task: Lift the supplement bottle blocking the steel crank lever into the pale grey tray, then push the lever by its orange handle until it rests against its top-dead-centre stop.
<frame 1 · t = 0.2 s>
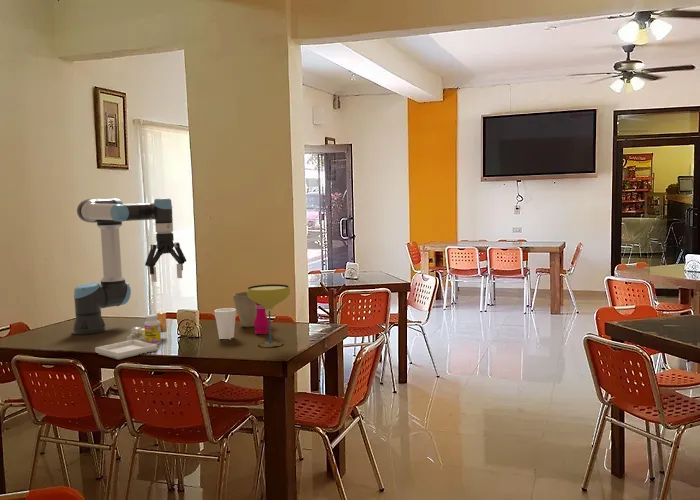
hand: (167, 279, 296), 27 cm above the table, fingers open, 13 cm apart
crank lever: (148, 324, 298), point 7 cm above the table, hinge at 80.0°
plant pot: (249, 325, 326), on the table
cocktail glass: (270, 345, 282), on the table
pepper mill: (261, 334, 306), on the table
foam cup: (226, 338, 298), on the table
tray: (126, 351, 276), on the table
supplement bottle: (153, 344, 290), on the table
crank base: (137, 342, 294), on the table
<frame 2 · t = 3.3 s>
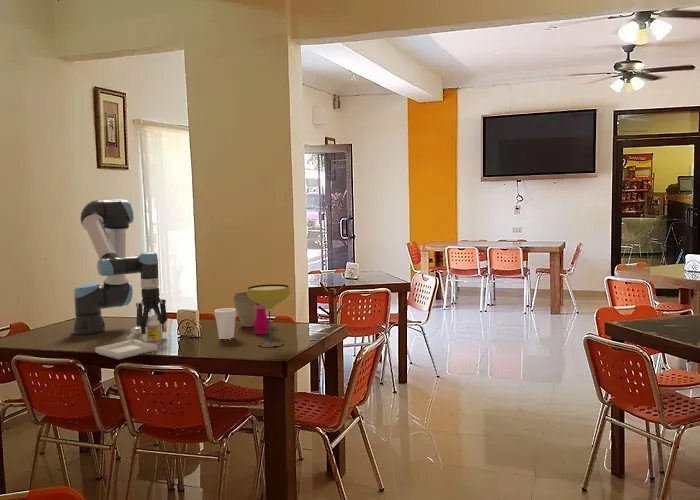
hand: (153, 339, 290), 2 cm above the table, fingers closed on supplement bottle, 7 cm apart
supplement bottle: (153, 344, 290), on the table, touching gripper
everything else where it was.
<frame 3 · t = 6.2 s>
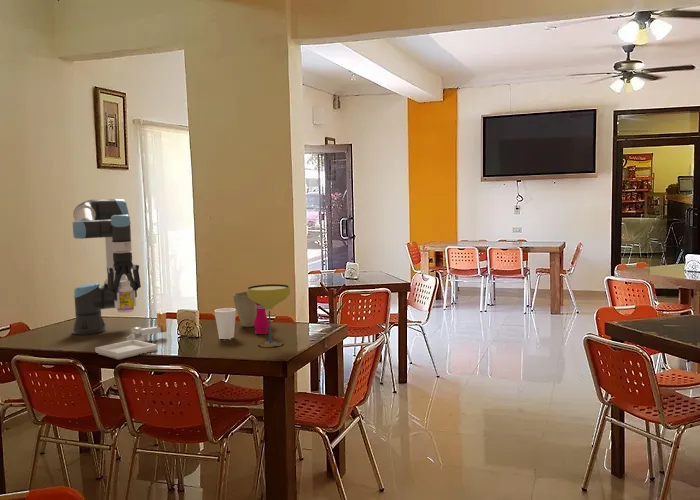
hand: (125, 306, 275), 19 cm above the table, fingers closed on supplement bottle, 7 cm apart
supplement bottle: (125, 311, 275), point 17 cm above the table, touching gripper
everything else where it was.
when the fingers open (5 cm above the table, at t = 9.3 s): supplement bottle drops 2 cm, resting on tray.
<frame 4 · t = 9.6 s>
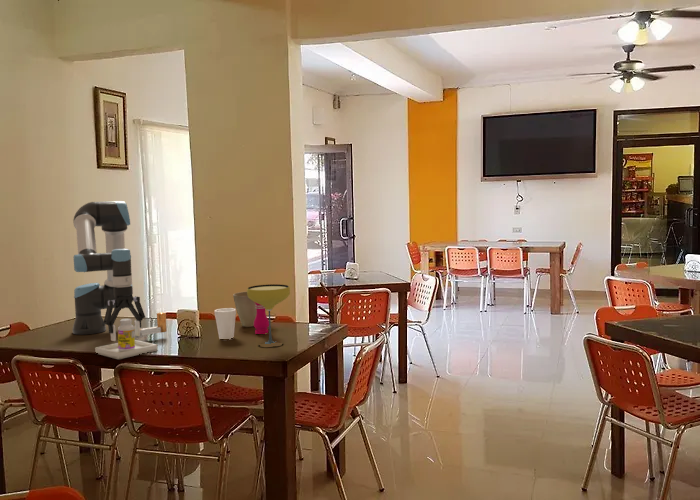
hand: (125, 338, 276), 6 cm above the table, fingers open, 10 cm apart
supplement bottle: (126, 350, 276), point 1 cm above the table, touching tray
everything else where it was.
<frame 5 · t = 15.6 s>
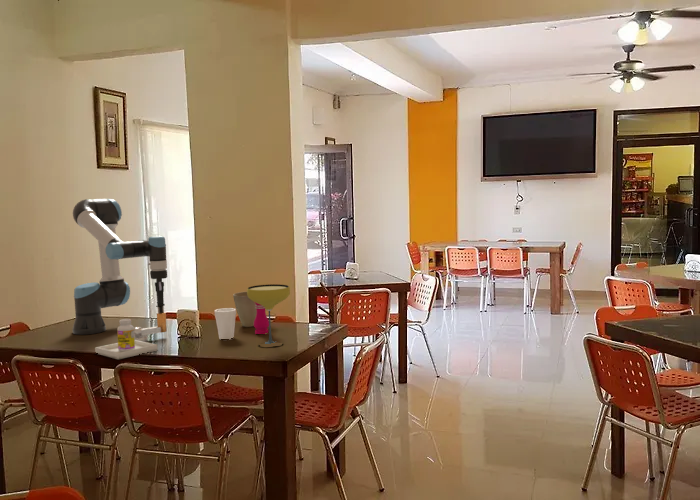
hand: (161, 320, 305), 8 cm above the table, fingers closed
crank lever: (148, 324, 298), point 7 cm above the table, hinge at 79.9°, touching gripper
everything else where it was.
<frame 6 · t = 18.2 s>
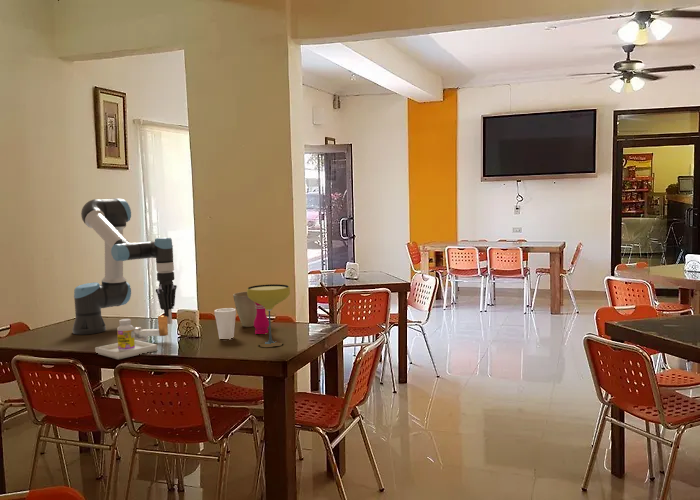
hand: (168, 323, 297), 7 cm above the table, fingers closed
crank lever: (149, 326, 294), point 7 cm above the table, hinge at 39.8°, touching gripper
everything else where it was.
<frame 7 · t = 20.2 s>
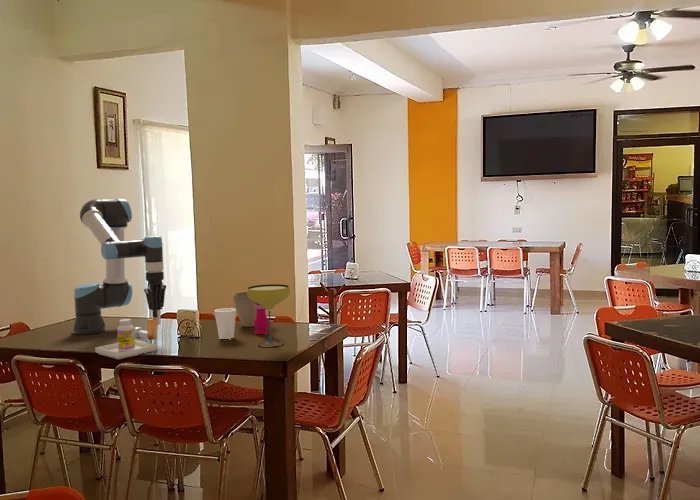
hand: (157, 324, 290), 9 cm above the table, fingers closed
crank lever: (143, 327, 290), point 7 cm above the table, hinge at 1.6°
everything else where it was.
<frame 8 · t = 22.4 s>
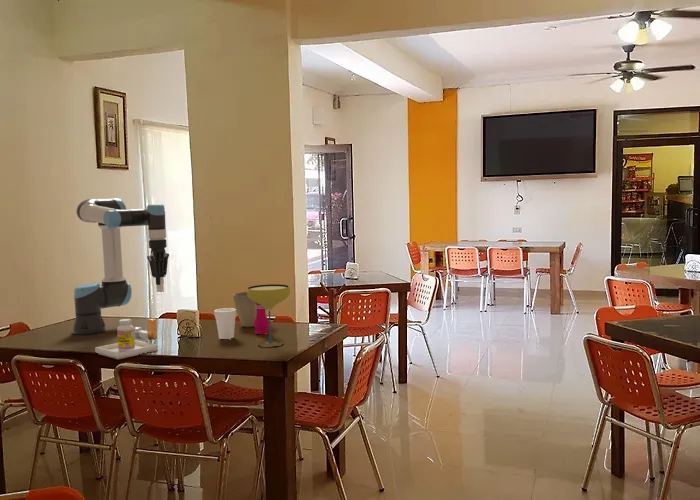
hand: (160, 291, 293), 22 cm above the table, fingers closed
nothing on the table moved.
at the end: supplement bottle inside the target area on the tray (0.1 cm from its centre), point 0.6 cm above the tray's base; crank lever at +2° (first picture: +80°); supplement bottle tilted 0° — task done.
